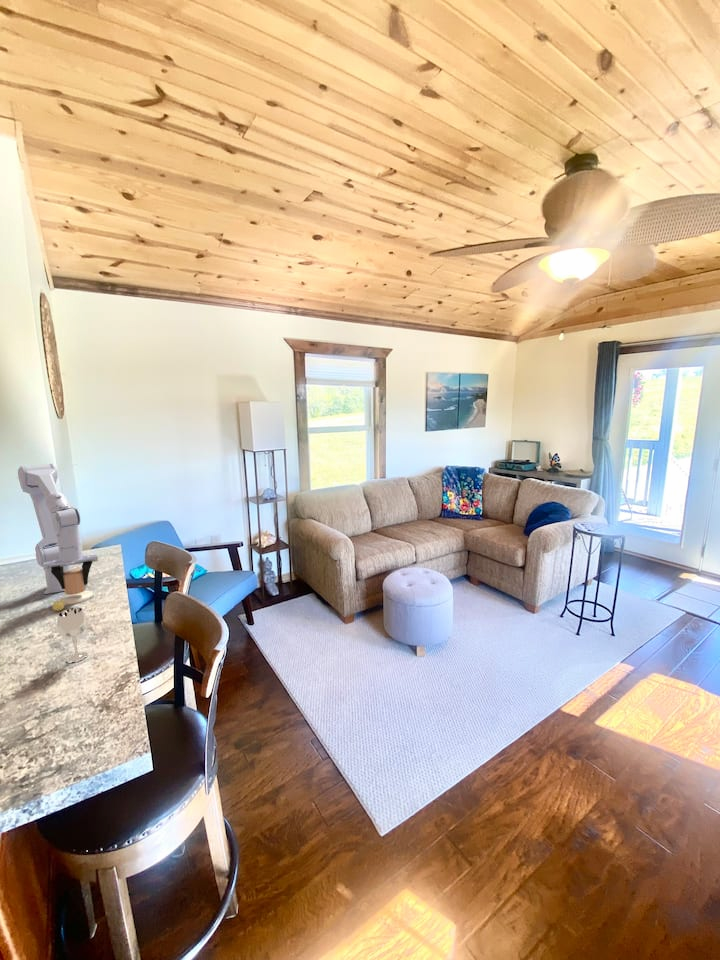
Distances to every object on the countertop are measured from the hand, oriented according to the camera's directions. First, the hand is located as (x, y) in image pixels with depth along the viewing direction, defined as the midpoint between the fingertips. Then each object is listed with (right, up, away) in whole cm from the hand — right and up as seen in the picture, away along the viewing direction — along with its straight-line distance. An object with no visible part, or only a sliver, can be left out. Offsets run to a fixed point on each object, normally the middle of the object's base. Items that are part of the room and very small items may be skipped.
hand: (75, 585), depth 130 cm
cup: (0, -2, 0) cm, 2 cm away
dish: (0, -4, +1) cm, 4 cm away
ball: (+1, -6, -8) cm, 9 cm away
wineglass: (+24, -9, -33) cm, 42 cm away
